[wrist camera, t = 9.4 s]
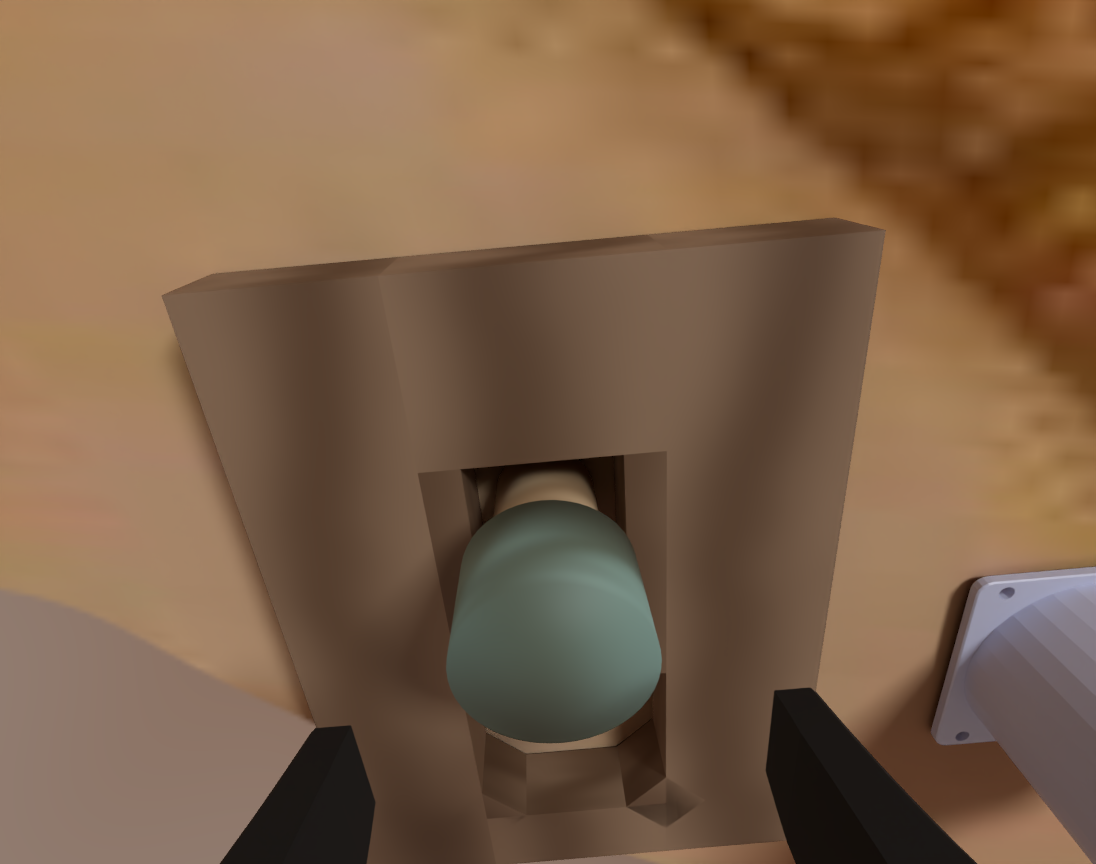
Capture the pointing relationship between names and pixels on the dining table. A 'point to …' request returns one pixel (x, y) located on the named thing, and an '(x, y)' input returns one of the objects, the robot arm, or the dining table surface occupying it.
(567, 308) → the keyhole board
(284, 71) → the dining table surface
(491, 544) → the peg
